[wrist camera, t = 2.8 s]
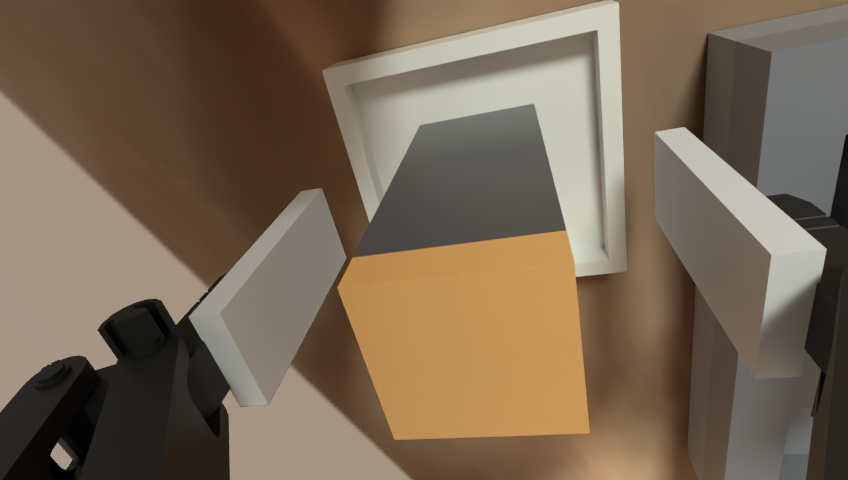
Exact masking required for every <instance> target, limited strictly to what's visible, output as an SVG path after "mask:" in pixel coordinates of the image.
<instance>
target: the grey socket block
mask: <svg viewBox="0 0 848 480" xmlns="http://www.w3.org/2000/svg"><path fill="white" fill-rule="evenodd" d="M846 134H848V4H845V5H840V6H835V7H831V8H826V9H821V10H816V11H811V12H806V13H802V14H797V15H792V16H787V17H782V18H777V19H773V20H768V21H763V22H758V23H753V24H748V25H744V26H739V27H734V28H729V29H724V30H719V31H715V32H710V33H708V51H707V71H706V90H705V110H704V130H703V143H704V144H705V145H706V146H707V147H708V148H710V149H711V150H712V151H713V152H714V153H715V154H717V155H718V156H719V157H720V158H721V159H722V160H724V161H725V162H726V163H727V164H728V165H729V166H731V167H732V168H733V169H734V170H735V171H736V172H738V173H739V174H740V175H741V176H742V177H743V178H745V179H746V180H747V181H748V182H749V183H750V184H752V185H753V186H754V187H755V188H756V189H757V190H759V191H760V192H761V193H762V194H763V195H764V196H771V195H778V194H789V195H792V196H795V197H798V198H801V199H803V200H806V201H809V202H811V203H812V204H814V205H815V206H816V207H818V208H819V209H820V210H822V211H823V212H824V213H826V216H830V213H831V208H832V203H833V198H834V193H835V188H836V183H837V177H838V172H839V167H840V162H841V157H842V152H843V147H844V141H845V136H846ZM820 372H821V369H820V368H819V367H818V365H817V364H816V363H815V362H814V360H813V359H812V358H811V357H810V355H809V354H808V353H807V352H806V356H805V361H804V366H803V371H802V377H787V378H768V379H754V378H753V376H752V374H751V373H750V371H749V369H748V368H747V366H746V365H745V363H744V361H743V360H742V358H741V357H740V355H739V353H738V352H737V350H736V349H735V347H734V345H733V344H732V342H731V341H730V339H729V337H728V336H727V334H726V332H725V331H724V329H723V328H722V326H721V324H720V323H719V321H718V320H717V318H716V316H715V315H714V313H713V312H712V310H711V308H710V307H709V305H708V303H707V302H706V300H705V299H704V297H703V295H702V294H701V292H700V291H699V289H698V287H697V286H696V287H695V307H694V326H693V346H692V366H691V385H690V405H689V425H688V444H687V453H688V455H689V458H690V460H691V463H692V466H693V468H694V471H695V473H696V476H697V478H698V480H806V474H807V466H808V457H809V449H810V441H811V433H812V425H813V417H812V416H811V412H812V408H813V403H814V399H815V394H816V390H817V385H818V381H819V376H820Z"/></svg>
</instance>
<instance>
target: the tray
mask: <svg viewBox="0 0 848 480" xmlns="http://www.w3.org/2000/svg"><path fill="white" fill-rule="evenodd" d="M322 73H323V76H324V80H325V83H326V86H327V89H328V92H329V95H330V99H331V102H332V105H333V108H334V111H335V115H336V118H337V121H338V124H339V127H340V130H341V134H342V137H343V140H344V143H345V146H346V150H347V153H348V156H349V159H350V162H351V165H352V169H353V172H354V175H355V178H356V181H357V185H358V188H359V191H360V194H361V197H362V200H363V204H364V207H365V210H366V213H367V216H368V220H369V223H370V222H371V220H372V218H373V216H374V214H375V212H376V211H377V209H378V207H379V205H380V203H381V201H382V199H383V197H384V195H385V193H386V191H387V189H388V187H389V185H390V183H391V181H392V179H393V177H394V175H395V173H396V171H397V169H398V167H399V165H400V163H401V161H402V159H403V158H404V156H405V154H406V152H407V150H408V148H409V146H410V144H411V142H412V140H413V138H414V136H415V134H416V132H417V130H418V128H419V126H420V125H424V124H429V123H434V122H439V121H445V120H450V119H455V118H460V117H466V116H471V115H476V114H481V113H487V112H492V111H497V110H502V109H508V108H513V107H518V106H523V105H529V104H534V105H535V109H536V113H537V117H538V121H539V125H540V129H541V133H542V137H543V141H544V144H545V148H546V152H547V156H548V160H549V164H550V168H551V172H552V176H553V180H554V184H555V187H556V191H557V195H558V199H559V203H560V207H561V211H562V215H563V219H564V223H565V227H566V230H567V234H568V238H569V242H570V246H571V250H572V254H573V258H574V263H575V274H576V277H580V276H590V275H599V274H609V273H618V272H627V256H626V223H625V190H624V157H623V124H622V91H621V59H620V26H619V2H616V1H612V0H604V1H599V2H595V3H591V4H586V5H582V6H578V7H574V8H569V9H565V10H561V11H556V12H552V13H548V14H543V15H539V16H535V17H530V18H526V19H522V20H517V21H513V22H509V23H505V24H500V25H496V26H492V27H487V28H483V29H479V30H474V31H470V32H466V33H461V34H457V35H453V36H448V37H444V38H440V39H436V40H431V41H427V42H423V43H418V44H414V45H410V46H405V47H401V48H397V49H392V50H388V51H384V52H379V53H375V54H371V55H367V56H362V57H358V58H354V59H349V60H345V61H341V62H336V63H334V64H332V65H331V66H329V67H327V68H325V69H324V70H322Z"/></svg>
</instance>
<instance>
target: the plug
mask: <svg viewBox="0 0 848 480" xmlns="http://www.w3.org/2000/svg"><path fill="white" fill-rule="evenodd" d="M337 289H338V291H339V294H340V297H341V299H342V302H343V305H344V307H345V310H346V313H347V315H348V318H349V320H350V323H351V326H352V328H353V331H354V334H355V336H356V339H357V342H358V344H359V347H360V350H361V352H362V355H363V358H364V360H365V363H366V366H367V368H368V371H369V373H370V376H371V379H372V381H373V384H374V387H375V389H376V392H377V395H378V397H379V400H380V403H381V405H382V408H383V411H384V413H385V416H386V419H387V421H388V424H389V426H390V429H391V432H392V434H393V437H394V440H406V439H437V438H467V437H497V436H528V435H558V434H588V433H590V428H589V417H588V406H587V395H586V384H585V373H584V362H583V351H582V340H581V329H580V318H579V307H578V296H577V285H576V274H575V263H574V258H573V254H572V250H571V246H570V242H569V238H568V234H567V230H566V227H565V223H564V219H563V215H562V211H561V207H560V203H559V199H558V195H557V191H556V187H555V184H554V180H553V176H552V172H551V168H550V164H549V160H548V156H547V152H546V148H545V144H544V141H543V137H542V133H541V129H540V125H539V121H538V117H537V113H536V109H535V105H534V104H529V105H523V106H518V107H513V108H508V109H502V110H497V111H492V112H487V113H481V114H476V115H471V116H466V117H460V118H455V119H450V120H445V121H439V122H434V123H429V124H424V125H420V126H419V128H418V130H417V132H416V134H415V136H414V138H413V140H412V142H411V144H410V146H409V148H408V150H407V152H406V154H405V156H404V158H403V159H402V161H401V163H400V165H399V167H398V169H397V171H396V173H395V175H394V177H393V179H392V181H391V183H390V185H389V187H388V189H387V191H386V193H385V195H384V197H383V199H382V201H381V203H380V205H379V207H378V209H377V211H376V212H375V214H374V216H373V218H372V220H371V222H370V224H369V226H368V228H367V230H366V232H365V234H364V236H363V238H362V240H361V242H360V244H359V246H358V248H357V250H356V252H355V254H354V256H353V258H352V260H351V262H350V264H349V266H348V267H347V269H346V271H345V273H344V275H343V277H342V279H341V281H340V283H339V285H338V287H337Z"/></svg>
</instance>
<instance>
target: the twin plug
mask: <svg viewBox="0 0 848 480" xmlns="http://www.w3.org/2000/svg"><path fill="white" fill-rule="evenodd" d="M830 217H831V218H832V219H834V220H835V221H836V222H838V223H839V226H843V227H844V228H846V229H847V230H848V134H846V136H845V141H844V147H843V152H842V157H841V162H840V167H839V172H838V177H837V183H836V188H835V193H834V198H833V203H832V208H831V213H830Z"/></svg>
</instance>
